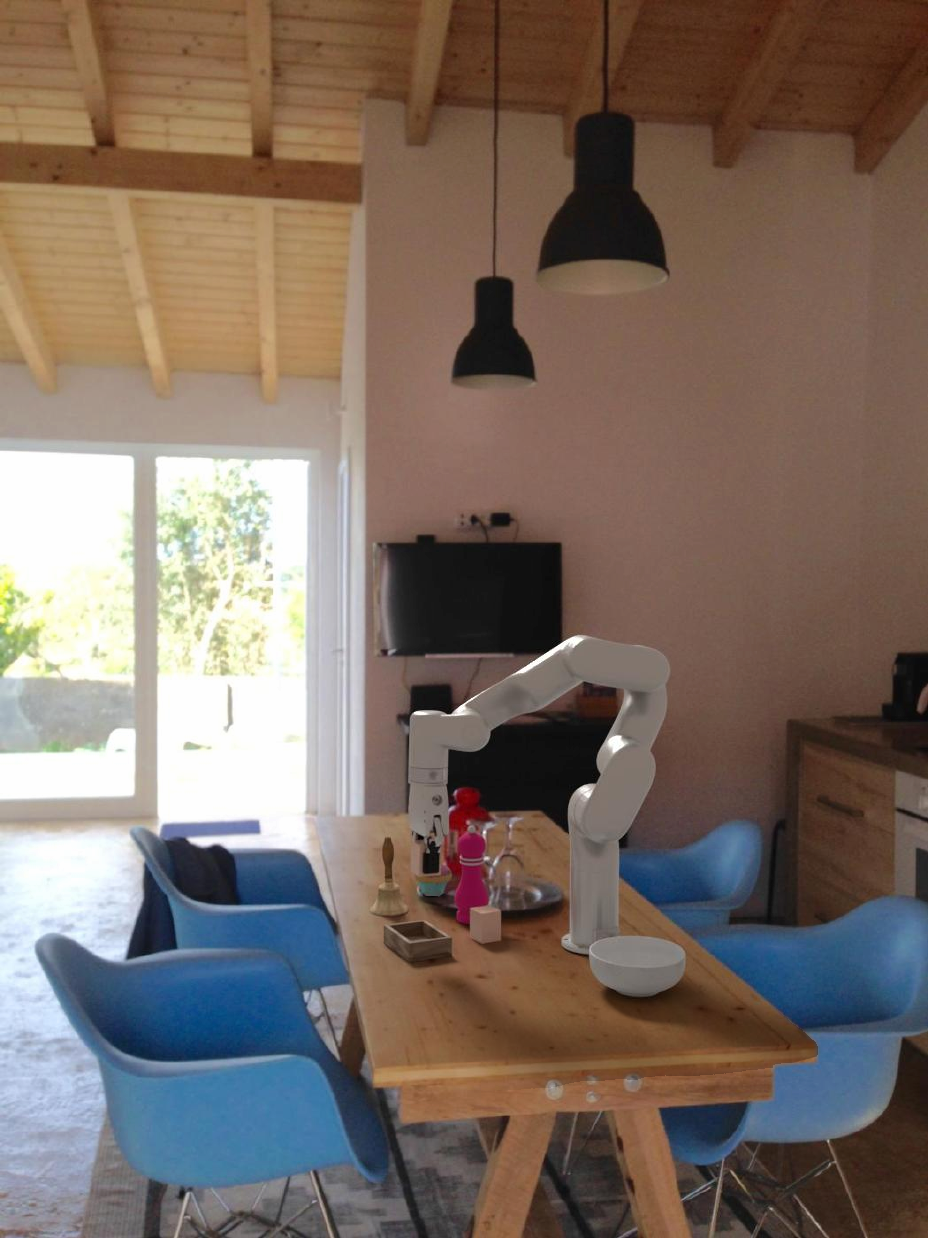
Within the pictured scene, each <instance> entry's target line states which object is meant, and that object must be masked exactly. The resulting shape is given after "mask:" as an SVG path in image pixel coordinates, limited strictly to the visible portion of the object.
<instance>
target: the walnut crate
mask: <svg viewBox="0 0 928 1238" xmlns="http://www.w3.org/2000/svg"><path fill="white" fill-rule="evenodd" d="M383 944H384V945H386V946H387V947H389V948H390V949H391V950H393V951H394V953H396V954H398V955H399V956H401V957H402V958H403V959H404V960H406V961H407V962H409V963H412V962H413V963H414V962H419V961H425V960H431V959H438V958H445V957H452V956H453V937H452V936H450V935H449V934H447V933H446V932H444V931H443V930H441V929H440V928H438V927H437V926H435V925H433V923H430V922H429V921H427V920H426V919H419V920H418V919H417V920H412V921H405V922H398V923H389V924H383Z"/></svg>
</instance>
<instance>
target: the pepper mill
mask: <svg viewBox="0 0 928 1238" xmlns="http://www.w3.org/2000/svg"><path fill="white" fill-rule="evenodd" d="M476 832H477V829H476V826H474V825H469V826H468V827H467V832H466V833H463V834H462V835H461V836H460V837H459V838H458V840H457V851H458V852H459V853H460V856H459V859H460V860H459V863H460V864H461V878H460V881H459V884H458V886H457V888H456V890H455V894H454V904H455V906H456V907H457V908H458V910H457V911H456V921H457V922H459V923H460V924H464V925H470V908H475V907H481V906H487V905H489V902H490V898H489V892H488V889H487V887H486V886H485V882H484V880H483V876H482V865H483V863H485V862H484V855H483V854H484V852H485V851H486V847H487V843H486V839H485V838H484V836H482V835H481V834H480V833H476Z"/></svg>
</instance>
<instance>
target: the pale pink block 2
mask: <svg viewBox="0 0 928 1238" xmlns="http://www.w3.org/2000/svg"><path fill="white" fill-rule="evenodd" d="M469 938H470V939H471V940H474V941H476V943H477V942H478V943H479V944H481V945H482V944H488V943H493V942H501V941H502V910H500V909H499V908H496V907H495V906H492V905H490V904H488V905H487V906H481V907H475V908H470V924H469Z"/></svg>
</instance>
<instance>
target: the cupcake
mask: <svg viewBox="0 0 928 1238" xmlns="http://www.w3.org/2000/svg"><path fill="white" fill-rule="evenodd" d="M413 875H414V879H415V880H416V882H417V883H418V884H419V887H420V890H421V891H420V892H421V893H422V892H423V893H426V894H432V895H442V894H443V895H444V893H445V889H446V887H447V883H448V882H450V881H451V880H452V877H453V874H452V870H451V869H450V867H448V866H447V865H446V864H443V863H441V875H436V876H424V877H418V876H417V875H415V874H414V873H413ZM443 895H442V896H443Z"/></svg>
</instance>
